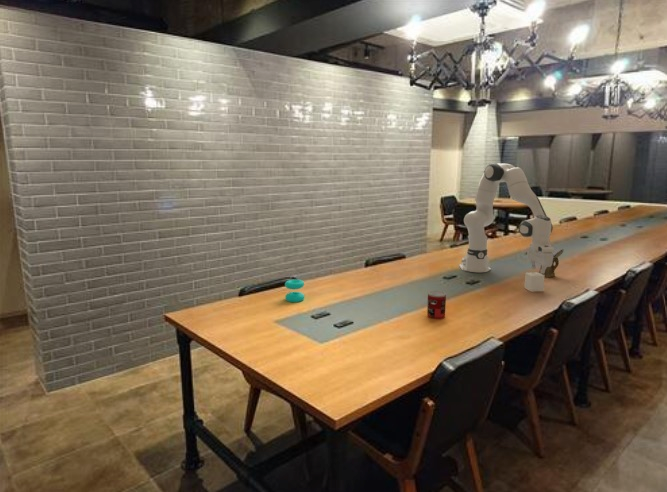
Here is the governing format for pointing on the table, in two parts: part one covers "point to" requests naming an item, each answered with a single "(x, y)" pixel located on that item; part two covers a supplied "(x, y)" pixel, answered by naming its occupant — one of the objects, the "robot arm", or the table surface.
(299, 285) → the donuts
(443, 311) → the canned food
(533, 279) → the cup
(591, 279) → the table surface
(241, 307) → the table surface
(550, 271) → the wooden mug
